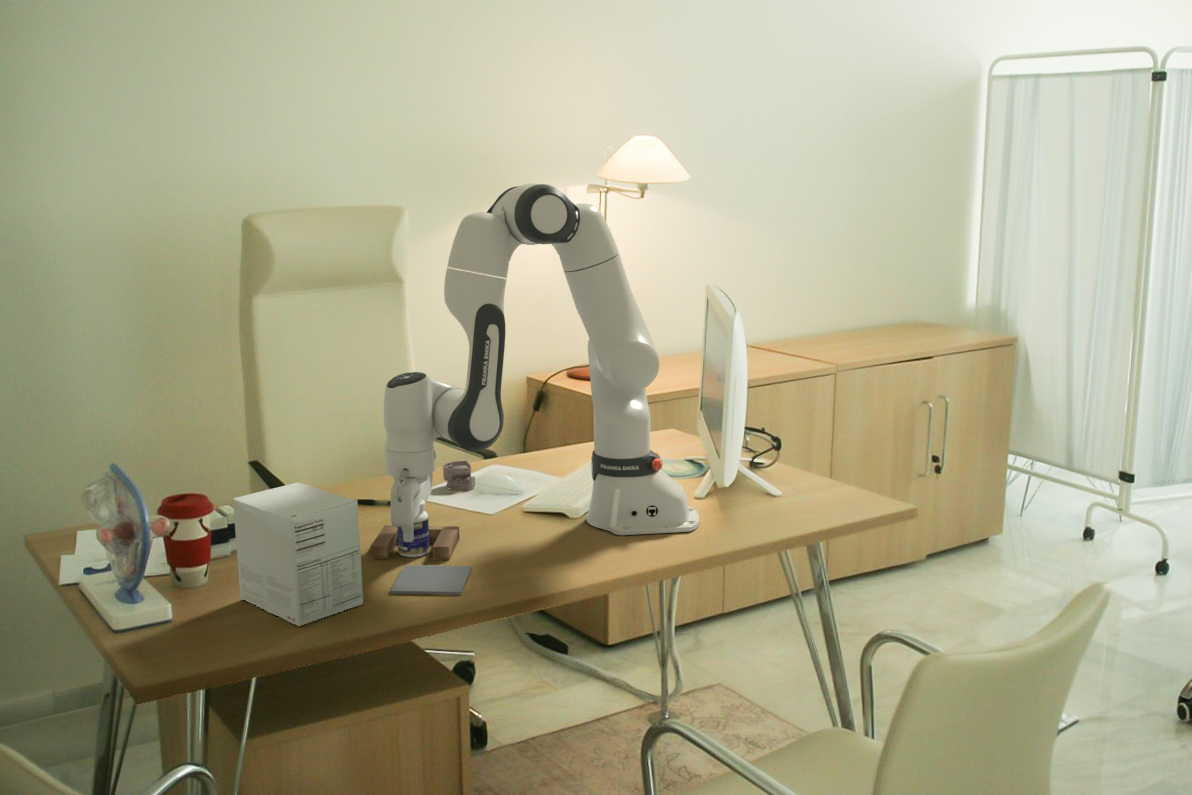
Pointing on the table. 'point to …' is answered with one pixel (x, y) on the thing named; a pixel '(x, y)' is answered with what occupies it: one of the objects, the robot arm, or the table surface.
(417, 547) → the pill bottle
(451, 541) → the holder
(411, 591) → the mat
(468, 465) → the dental mold
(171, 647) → the table surface
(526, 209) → the robot arm
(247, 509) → the supplement box
